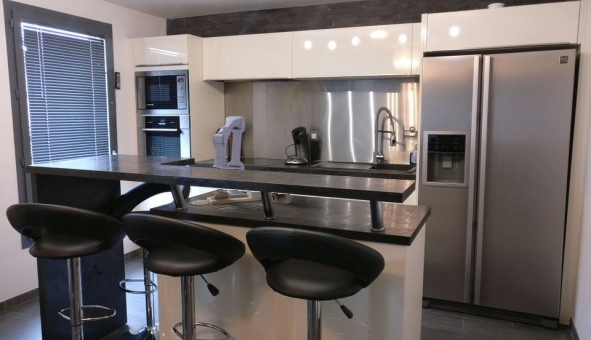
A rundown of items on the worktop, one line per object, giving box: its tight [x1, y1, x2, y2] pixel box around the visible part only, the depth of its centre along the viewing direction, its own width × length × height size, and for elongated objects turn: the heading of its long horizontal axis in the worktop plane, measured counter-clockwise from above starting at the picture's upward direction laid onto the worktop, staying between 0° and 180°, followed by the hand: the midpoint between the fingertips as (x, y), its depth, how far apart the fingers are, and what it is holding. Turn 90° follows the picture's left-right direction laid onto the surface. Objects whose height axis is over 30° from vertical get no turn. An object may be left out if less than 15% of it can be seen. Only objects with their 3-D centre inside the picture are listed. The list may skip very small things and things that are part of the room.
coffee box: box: [271, 170, 292, 205], centre depth 236 cm, size 9×6×16 cm
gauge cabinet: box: [246, 190, 261, 198], centre depth 246 cm, size 8×7×4 cm
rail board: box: [206, 192, 262, 205], centre depth 242 cm, size 10×30×3 cm, turn 115°
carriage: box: [211, 188, 229, 200], centre depth 237 cm, size 6×7×7 cm
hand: (220, 182), depth 236 cm, fingers open, 7 cm apart
